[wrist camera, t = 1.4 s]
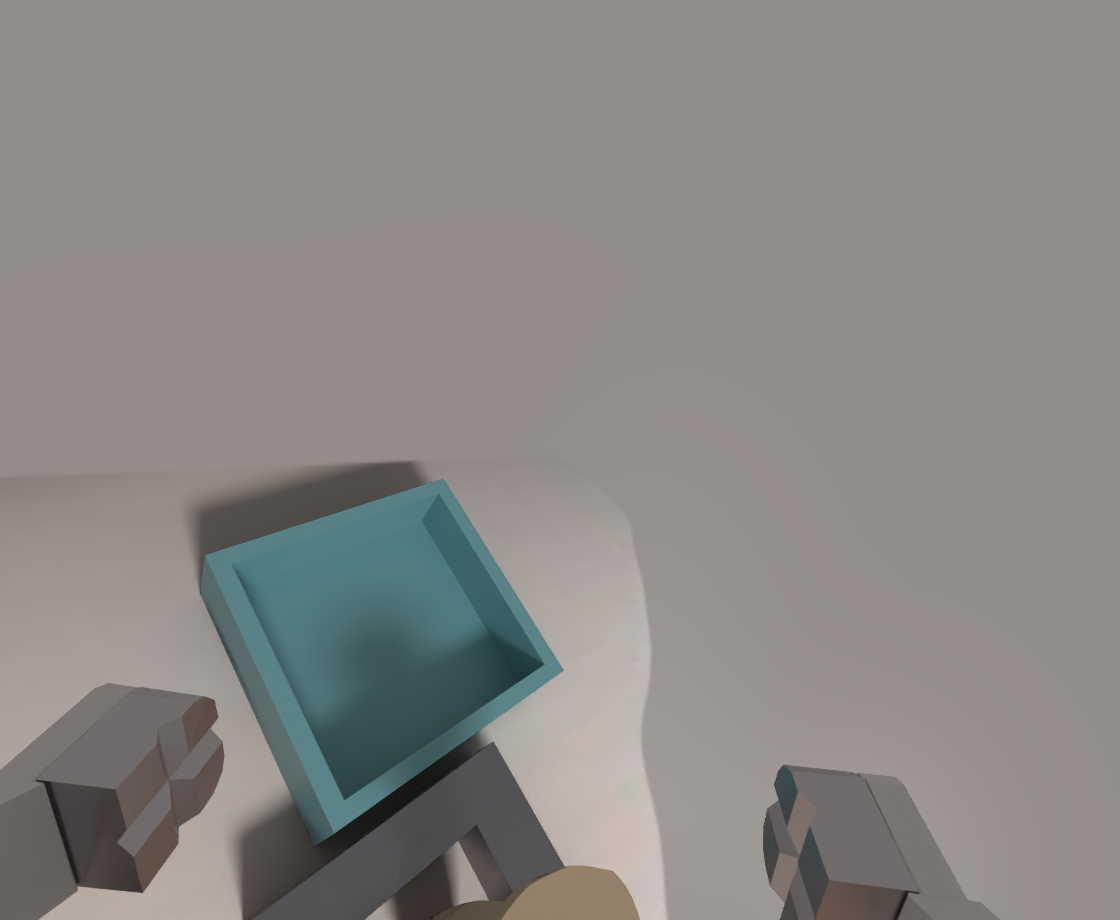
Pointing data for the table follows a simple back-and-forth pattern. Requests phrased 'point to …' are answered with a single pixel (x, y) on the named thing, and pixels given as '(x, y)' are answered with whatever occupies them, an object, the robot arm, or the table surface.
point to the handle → (556, 899)
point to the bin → (372, 645)
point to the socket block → (431, 845)
